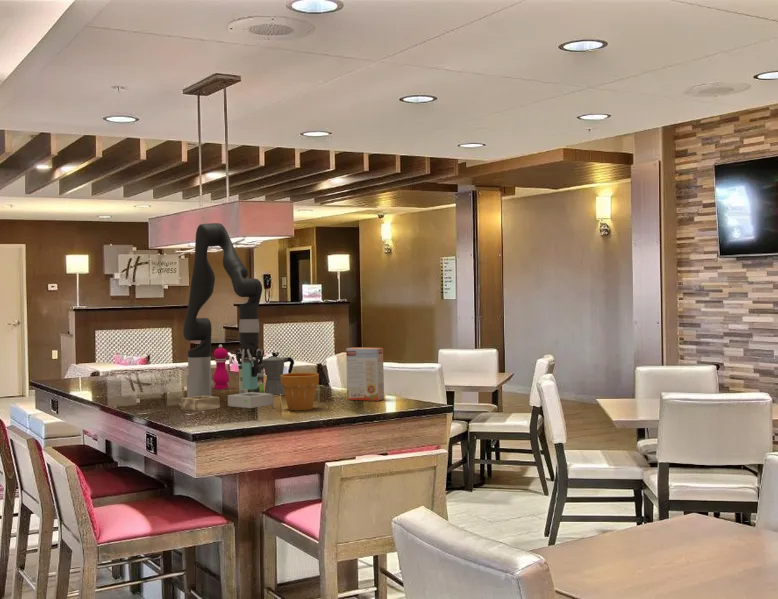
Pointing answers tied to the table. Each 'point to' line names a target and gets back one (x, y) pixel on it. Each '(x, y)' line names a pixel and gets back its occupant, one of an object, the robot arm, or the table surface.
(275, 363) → the coffeepot
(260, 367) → the coffee can
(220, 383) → the pepper mill
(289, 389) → the flower pot
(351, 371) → the cracker box
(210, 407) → the holster
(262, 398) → the port
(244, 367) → the plug
